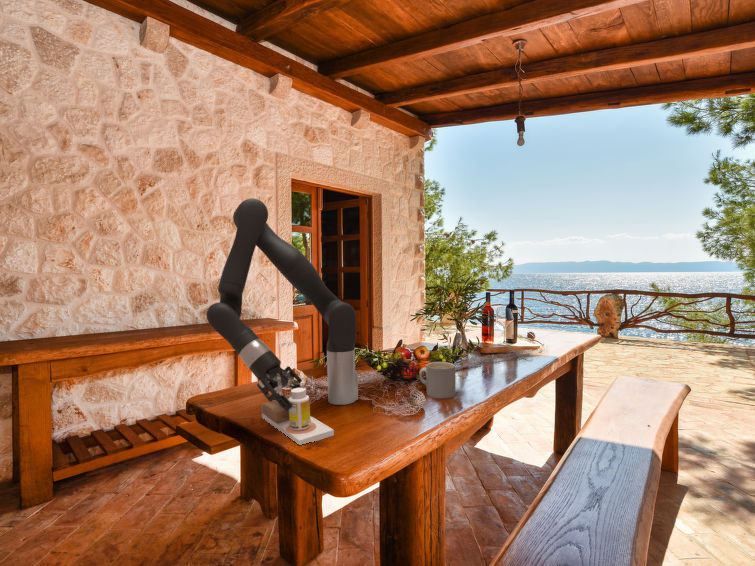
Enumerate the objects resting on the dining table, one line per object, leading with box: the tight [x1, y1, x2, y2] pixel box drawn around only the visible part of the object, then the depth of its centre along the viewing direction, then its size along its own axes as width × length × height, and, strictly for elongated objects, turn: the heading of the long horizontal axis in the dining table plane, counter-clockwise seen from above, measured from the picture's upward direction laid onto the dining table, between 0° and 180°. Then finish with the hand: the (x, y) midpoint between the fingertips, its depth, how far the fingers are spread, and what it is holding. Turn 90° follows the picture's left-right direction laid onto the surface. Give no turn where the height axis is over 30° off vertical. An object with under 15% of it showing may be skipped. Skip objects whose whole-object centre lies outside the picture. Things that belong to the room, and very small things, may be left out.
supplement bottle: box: [288, 387, 311, 431], centre depth 106 cm, size 6×6×10 cm
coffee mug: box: [418, 361, 457, 399], centre depth 138 cm, size 13×10×10 cm
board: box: [261, 404, 335, 446], centre depth 111 cm, size 10×25×4 cm, turn 38°
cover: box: [262, 397, 290, 423], centre depth 116 cm, size 8×10×4 cm
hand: (298, 403), depth 106 cm, fingers open, 8 cm apart
